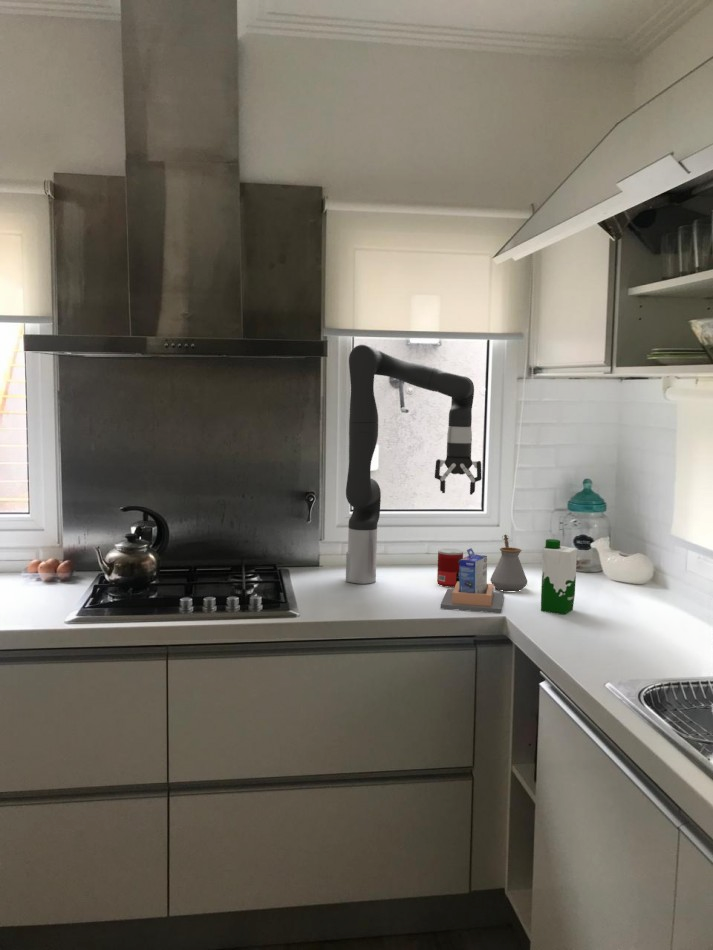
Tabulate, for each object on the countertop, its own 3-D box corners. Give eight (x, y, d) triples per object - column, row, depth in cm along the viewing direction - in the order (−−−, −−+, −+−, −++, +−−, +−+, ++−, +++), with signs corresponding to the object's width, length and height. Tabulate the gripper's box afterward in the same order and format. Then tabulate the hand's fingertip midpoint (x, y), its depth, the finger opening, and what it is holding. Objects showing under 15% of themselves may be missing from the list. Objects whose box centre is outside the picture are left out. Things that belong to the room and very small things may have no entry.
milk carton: (546, 604, 244) (549, 537, 242) (577, 609, 239) (580, 540, 237) (536, 611, 236) (539, 541, 234) (568, 616, 232) (571, 545, 230)
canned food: (461, 588, 262) (462, 553, 261) (436, 586, 264) (437, 552, 263) (462, 582, 270) (463, 549, 269) (437, 581, 271) (438, 547, 270)
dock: (440, 608, 237) (440, 594, 236) (447, 592, 256) (448, 579, 256) (500, 613, 233) (501, 598, 233) (503, 596, 253) (504, 582, 252)
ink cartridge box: (469, 593, 250) (471, 545, 249) (487, 596, 248) (489, 548, 246) (457, 600, 242) (459, 551, 240) (475, 603, 239) (477, 553, 237)
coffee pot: (529, 594, 256) (531, 546, 255) (491, 592, 257) (493, 545, 255) (521, 579, 277) (523, 534, 276) (486, 577, 278) (488, 533, 277)
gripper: (434, 441, 254) (433, 493, 255) (481, 442, 251) (479, 496, 252) (437, 439, 261) (435, 491, 263) (483, 441, 258) (481, 493, 260)
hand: (457, 493), depth 258 cm, fingers open, 8 cm apart
